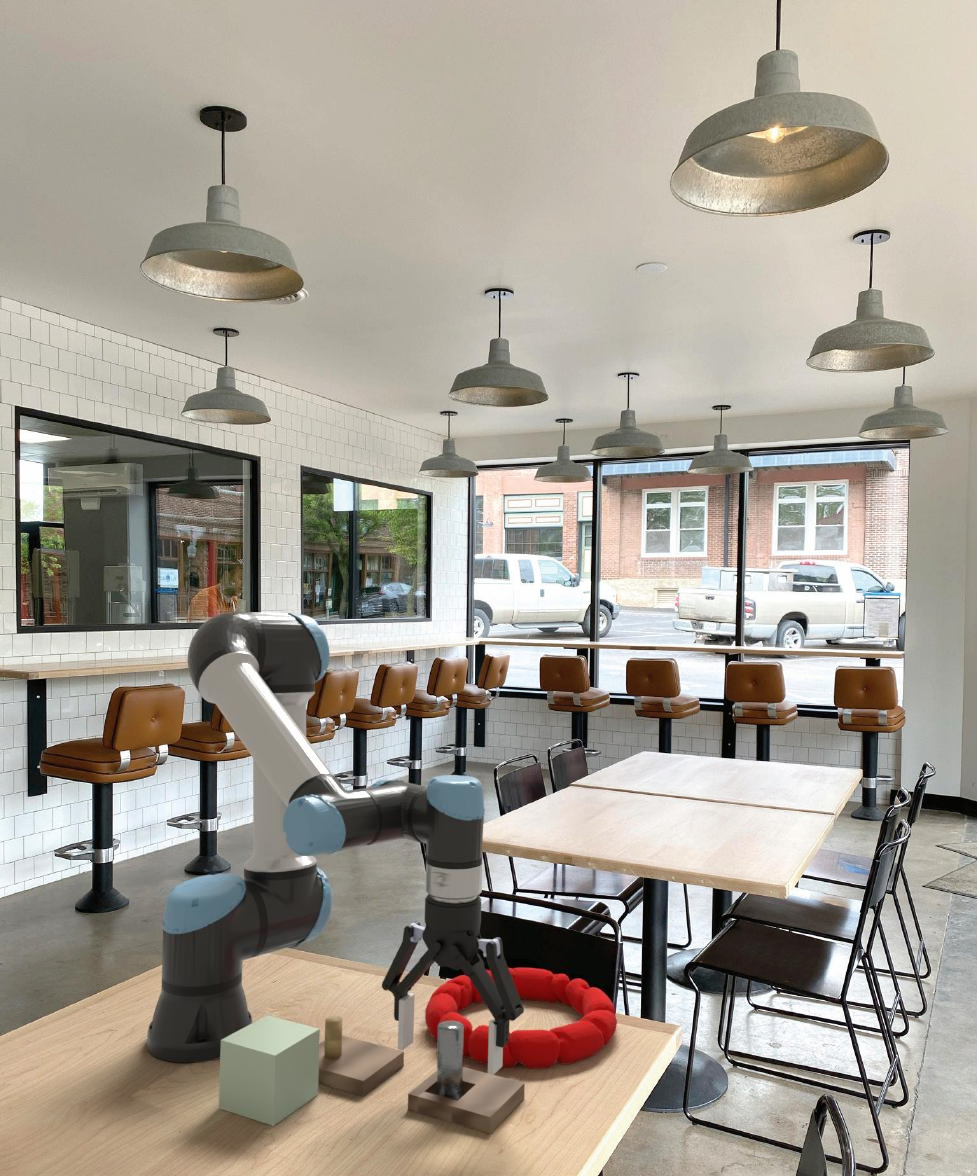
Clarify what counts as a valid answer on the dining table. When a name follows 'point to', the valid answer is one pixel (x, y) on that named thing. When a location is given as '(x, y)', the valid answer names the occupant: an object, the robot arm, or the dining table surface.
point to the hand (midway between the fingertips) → (449, 1057)
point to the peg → (450, 1060)
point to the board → (354, 1061)
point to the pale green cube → (269, 1069)
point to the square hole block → (470, 1100)
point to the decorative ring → (530, 1044)
